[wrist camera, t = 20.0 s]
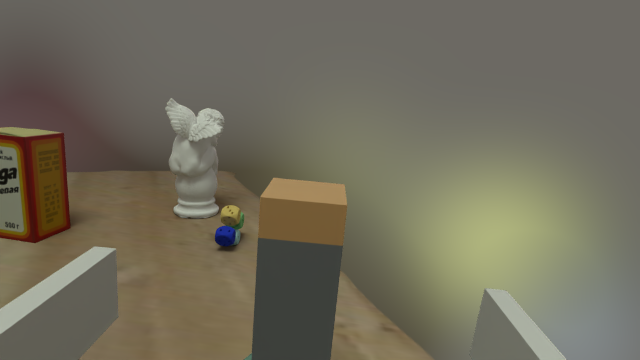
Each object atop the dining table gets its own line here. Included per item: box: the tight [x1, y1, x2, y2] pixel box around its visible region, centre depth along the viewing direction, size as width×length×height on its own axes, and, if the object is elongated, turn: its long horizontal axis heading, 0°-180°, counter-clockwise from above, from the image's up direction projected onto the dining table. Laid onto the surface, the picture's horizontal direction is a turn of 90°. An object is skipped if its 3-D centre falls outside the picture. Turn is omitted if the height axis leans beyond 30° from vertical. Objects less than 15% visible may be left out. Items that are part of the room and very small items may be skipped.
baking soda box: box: [0, 127, 70, 243], centre depth 56 cm, size 10×6×16 cm
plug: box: [252, 178, 347, 360], centre depth 26 cm, size 5×5×18 cm
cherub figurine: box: [165, 98, 224, 218], centre depth 70 cm, size 12×12×22 cm
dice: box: [215, 205, 244, 246], centre depth 60 cm, size 8×3×6 cm, turn 177°
